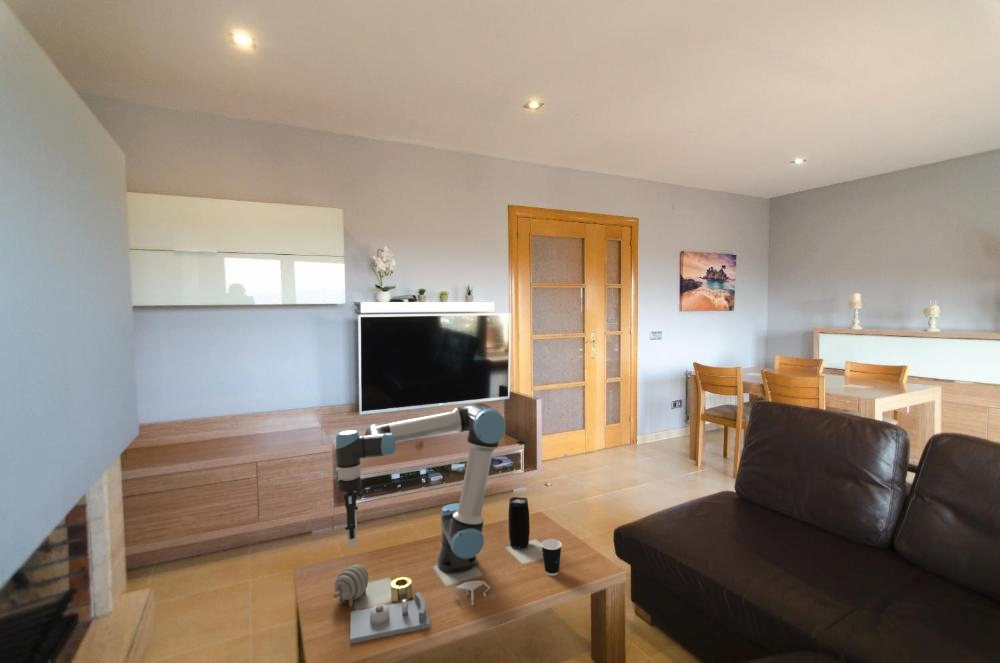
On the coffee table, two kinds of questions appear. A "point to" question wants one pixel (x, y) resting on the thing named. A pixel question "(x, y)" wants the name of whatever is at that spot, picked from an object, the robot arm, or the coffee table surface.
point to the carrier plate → (388, 620)
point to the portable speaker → (519, 522)
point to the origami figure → (471, 588)
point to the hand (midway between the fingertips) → (352, 538)
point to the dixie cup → (551, 556)
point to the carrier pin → (404, 607)
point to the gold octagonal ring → (401, 589)
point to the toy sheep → (351, 583)
